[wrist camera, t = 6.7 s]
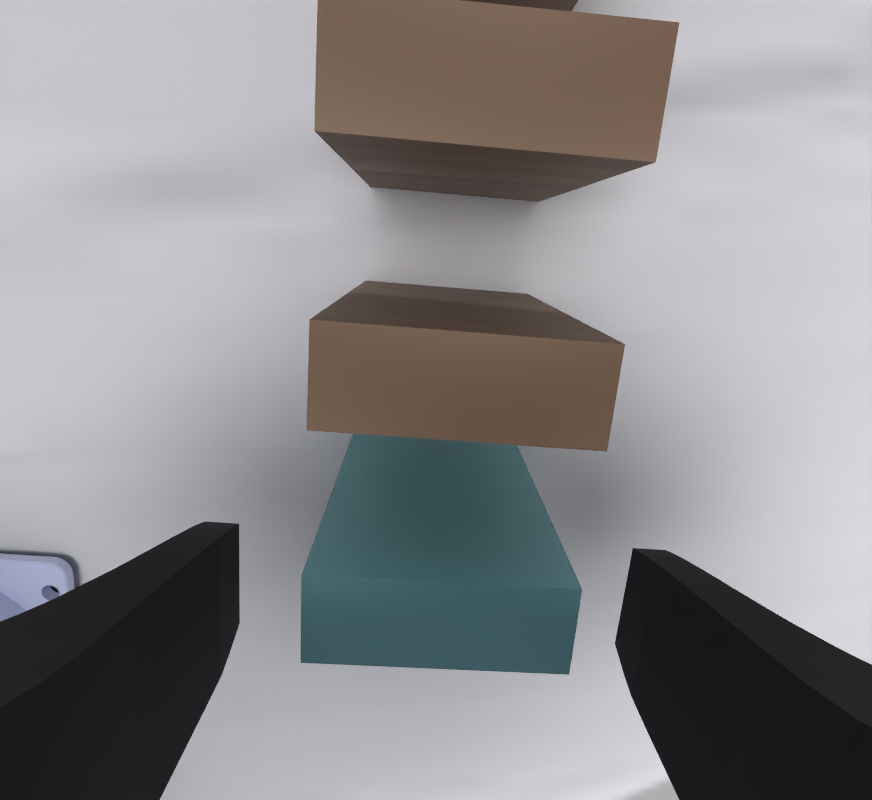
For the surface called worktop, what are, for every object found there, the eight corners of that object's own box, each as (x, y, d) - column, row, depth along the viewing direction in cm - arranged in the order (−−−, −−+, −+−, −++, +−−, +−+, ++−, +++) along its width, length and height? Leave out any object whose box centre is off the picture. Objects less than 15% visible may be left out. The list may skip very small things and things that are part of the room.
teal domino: (504, 481, 17) (568, 674, 10) (355, 473, 17) (300, 662, 9) (510, 430, 17) (581, 589, 9) (358, 421, 17) (301, 576, 9)
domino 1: (538, 201, 15) (654, 161, 8) (370, 186, 15) (315, 130, 7) (546, 135, 15) (679, 22, 7) (373, 119, 15) (317, -15, 7)
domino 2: (520, 351, 16) (606, 451, 9) (362, 339, 16) (306, 429, 8) (527, 294, 16) (624, 343, 8) (365, 280, 16) (309, 319, 8)
